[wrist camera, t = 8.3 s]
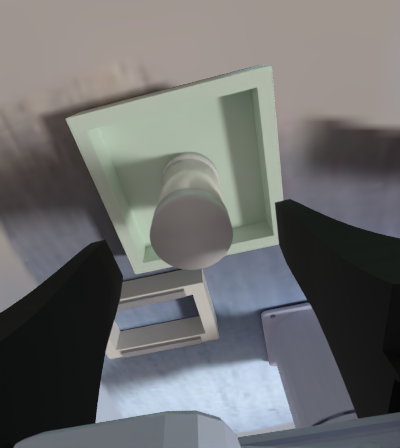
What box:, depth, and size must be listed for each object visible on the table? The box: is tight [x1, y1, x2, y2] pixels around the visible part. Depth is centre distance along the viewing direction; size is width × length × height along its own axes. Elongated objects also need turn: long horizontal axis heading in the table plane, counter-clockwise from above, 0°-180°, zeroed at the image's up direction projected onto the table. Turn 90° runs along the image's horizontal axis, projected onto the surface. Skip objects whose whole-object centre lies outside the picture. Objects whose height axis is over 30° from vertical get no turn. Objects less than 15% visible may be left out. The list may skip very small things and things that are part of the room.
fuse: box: [150, 152, 233, 270], centre depth 15 cm, size 4×4×7 cm
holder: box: [105, 269, 219, 359], centre depth 24 cm, size 10×7×2 cm, turn 103°
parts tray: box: [66, 65, 283, 274], centre depth 18 cm, size 11×11×2 cm
